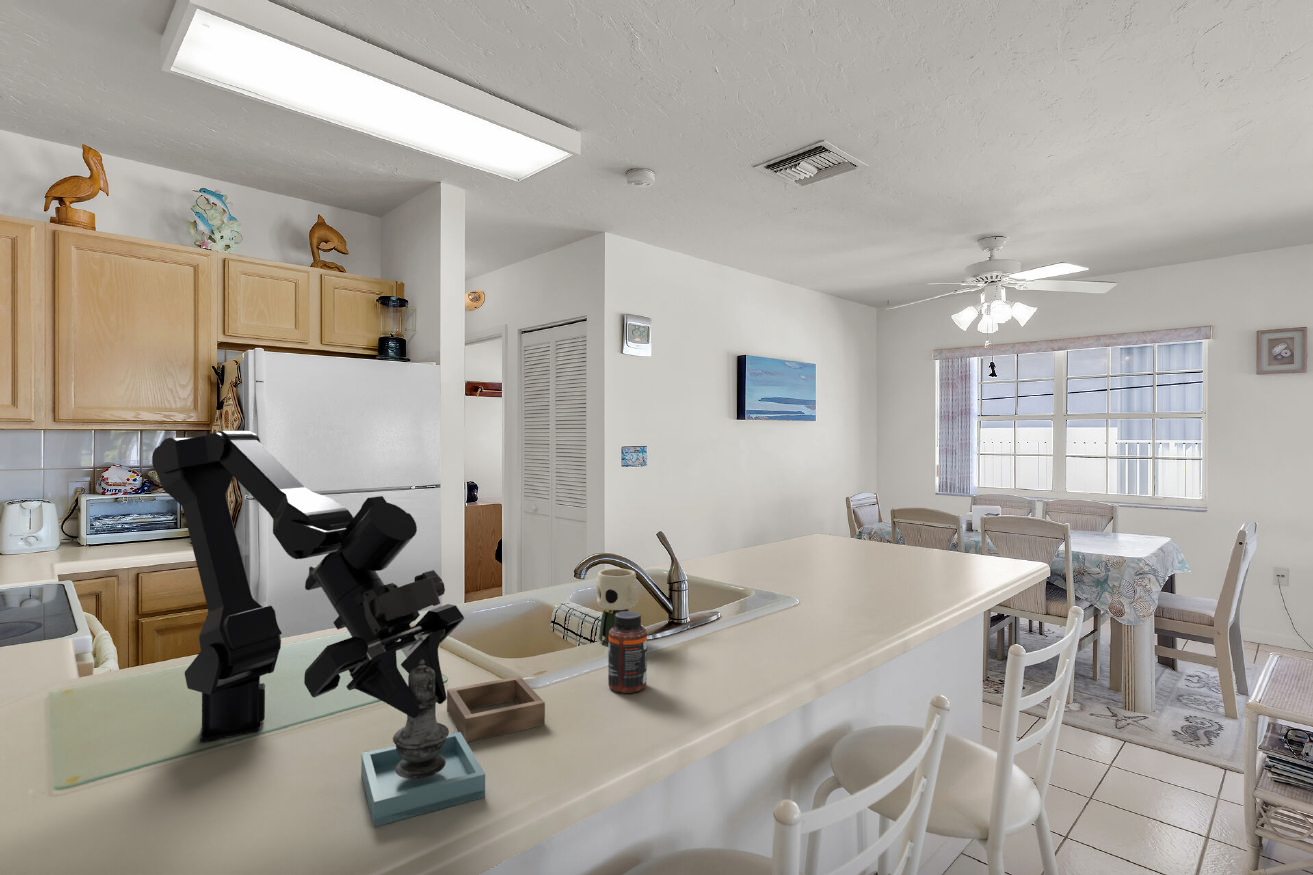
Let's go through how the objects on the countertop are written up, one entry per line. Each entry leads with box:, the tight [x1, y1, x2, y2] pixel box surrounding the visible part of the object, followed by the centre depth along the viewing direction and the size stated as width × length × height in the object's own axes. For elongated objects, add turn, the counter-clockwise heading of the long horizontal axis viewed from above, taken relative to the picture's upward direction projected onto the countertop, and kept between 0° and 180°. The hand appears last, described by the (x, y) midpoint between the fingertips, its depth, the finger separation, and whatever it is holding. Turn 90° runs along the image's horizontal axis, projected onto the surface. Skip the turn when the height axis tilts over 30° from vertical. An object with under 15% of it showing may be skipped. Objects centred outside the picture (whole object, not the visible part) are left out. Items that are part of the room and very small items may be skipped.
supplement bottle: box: [607, 610, 648, 694], centre depth 102 cm, size 6×6×11 cm
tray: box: [360, 731, 486, 828], centre depth 73 cm, size 11×11×2 cm
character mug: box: [596, 568, 639, 644], centre depth 123 cm, size 11×7×13 cm, turn 46°
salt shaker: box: [392, 659, 450, 779], centre depth 73 cm, size 6×6×12 cm
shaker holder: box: [446, 676, 546, 743], centre depth 90 cm, size 10×10×3 cm
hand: (430, 708), depth 72 cm, fingers open, 4 cm apart
